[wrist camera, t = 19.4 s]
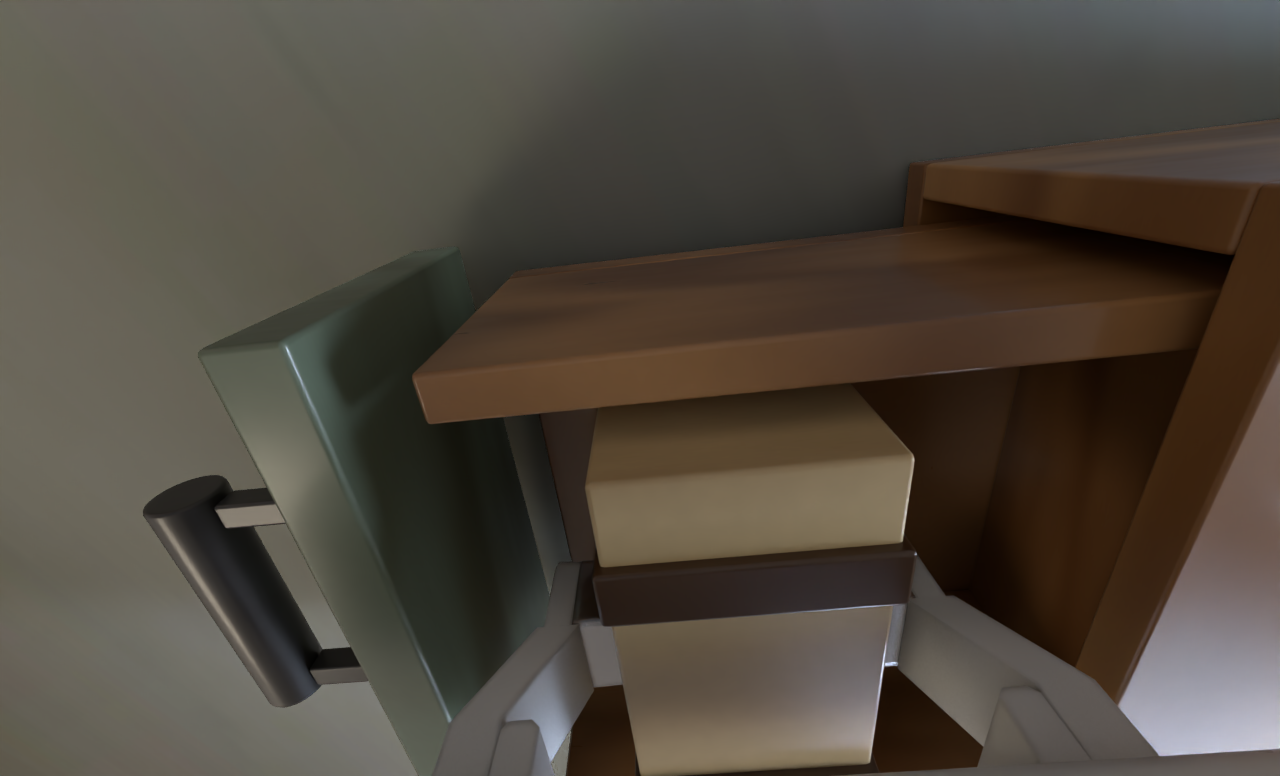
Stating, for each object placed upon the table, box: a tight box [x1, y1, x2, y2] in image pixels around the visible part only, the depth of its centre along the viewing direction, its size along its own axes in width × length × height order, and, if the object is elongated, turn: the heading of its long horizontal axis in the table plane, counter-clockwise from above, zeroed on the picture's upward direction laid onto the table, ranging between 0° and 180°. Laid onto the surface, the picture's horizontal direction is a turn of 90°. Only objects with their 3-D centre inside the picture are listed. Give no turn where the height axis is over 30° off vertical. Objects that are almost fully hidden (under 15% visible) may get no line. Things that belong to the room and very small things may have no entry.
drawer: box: [143, 215, 1235, 776], centre depth 12 cm, size 20×13×7 cm, turn 96°
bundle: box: [585, 383, 917, 776], centre depth 10 cm, size 9×4×5 cm, turn 6°
